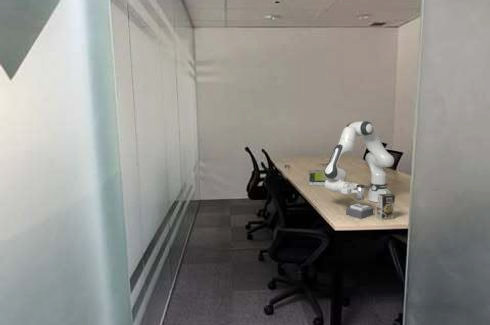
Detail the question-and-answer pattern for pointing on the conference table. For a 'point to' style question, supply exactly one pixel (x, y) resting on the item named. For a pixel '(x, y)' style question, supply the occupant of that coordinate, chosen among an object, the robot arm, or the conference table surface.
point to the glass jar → (360, 192)
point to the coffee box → (385, 206)
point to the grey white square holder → (359, 211)
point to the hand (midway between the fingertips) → (361, 191)
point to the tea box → (316, 177)
